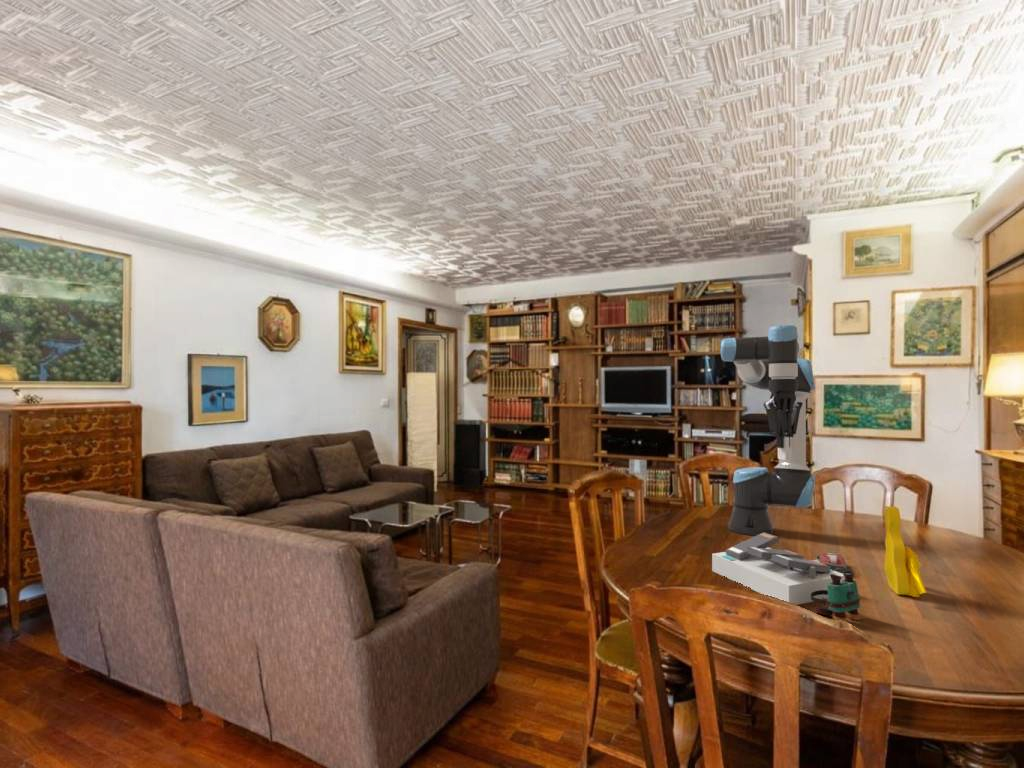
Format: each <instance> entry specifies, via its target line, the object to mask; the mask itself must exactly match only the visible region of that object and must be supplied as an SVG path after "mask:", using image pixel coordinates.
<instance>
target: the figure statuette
mask: <svg viewBox="0 0 1024 768" xmlns="http://www.w3.org/2000/svg"><path fill="white" fill-rule="evenodd" d="M884 523H885V539H884V541H885V543H884V545H885V559H884V567H883V568H884V572H885V575H886V579H887V582H888V583H887V584H888V587H889V588H890V589H891V590H892V591H893V592H894V593H895V594H896V595H899V596H901V595H903V596H908V597H909V596H910V597H913V598H920V596H921V595H927V594H928V592H927V590H926V587H925V585H924V581H923V579H922V577H921V572H920V568H921V566H922V562H921V561H919V557H920V556H919V555H918V554H916V553H915V552H914V550H913V549H912V548H911V547H909V546H908V545H906V546H905V544H904V541H903V537H902V533H901V526H902V525H901V523H902V521H901V515H900V509H899V507H897V506H884Z"/></svg>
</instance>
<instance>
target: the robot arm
mask: <svg viewBox="0 0 1024 768" xmlns="http://www.w3.org/2000/svg"><path fill="white" fill-rule="evenodd" d="M798 335H799V334H798V328H797V326H795V324H794V325H792V324H783V325H773V326H770V327H769V328H768V336H752V337H748V336H747V337H729V338H723V339H722V340H721V342H720V357H721V360H722V361H723V362H731V363H733V364H734V365H735V367H736V368H737V374H738V377H739V379H740V380H741V381H742V382H743V383H744V384H746V385H747V386H749V387H750V386H751V387H753V388H756V389H758V390H759V389H760V390H766V391H768V392H770V397H769V400H768V401H767V402H765V401H764V402H763V404H762V405H763V407H764V409H765V411H766V417H767V421H768V427H769V431H770V432H769V433H770V434H771V435H772V436H773V437H775V438H776V448H777V459H778V464H777V465H776V466H774V467H773V468H774V472H770V471H769V470H768V468H767V467H761V466H753V467H743V468H738V469H736V470H735V471H734V473H733V480H732V483H733V486H732V487H733V509H732V511H731V515H730V519H729V520H728V529H729V530H730V531H732V532H734V533H737V534H741V535H748V536H757V535H759V534H761V533H763V532H765V533H768V534H771V535H773V534H774V525H773V523H772V521H771V517H770V514H769V511H768V510H769V505H772V506H773V505H774V506H782V507H783V506H784V507H793V508H804V509H805V508H810V507H811V505H812V502H813V498H814V491H815V483H816V476H815V475H814V474H812V470H811V469H810V467H808V465H807V452H806V451H807V450H806V449H807V442H806V441H807V439H806V437H807V430H806V429H807V427H806V425H807V424H806V423H807V422H806V421H807V419H806V418H807V416H806V415H807V413H806V412H807V409H806V408H807V407H806V405H807V404H806V402H807V401H806V400H807V399H808V398H810V396H811V391H814V390H816V387H815V381H814V373H813V372H814V371H813V367H812V362H811V361H810V359H809V358H808V359H807V358H798V353H799V351H800V345H799V342H798Z"/></svg>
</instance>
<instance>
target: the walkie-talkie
mask: <svg viewBox="0 0 1024 768" xmlns="http://www.w3.org/2000/svg"><path fill="white" fill-rule="evenodd" d="M813 561H816V562H819V563H822V564H825V565H827V566H830V567H831V568H830V569H831V570H834V571H836V572H839V573H842V574H843V572H844V571H847V570H848V568H847V564H846V561H845V558H844V557H843V556H842V555H840V554H837V553H831V552H821V553H818V555H817V556H816V559H813Z"/></svg>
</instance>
